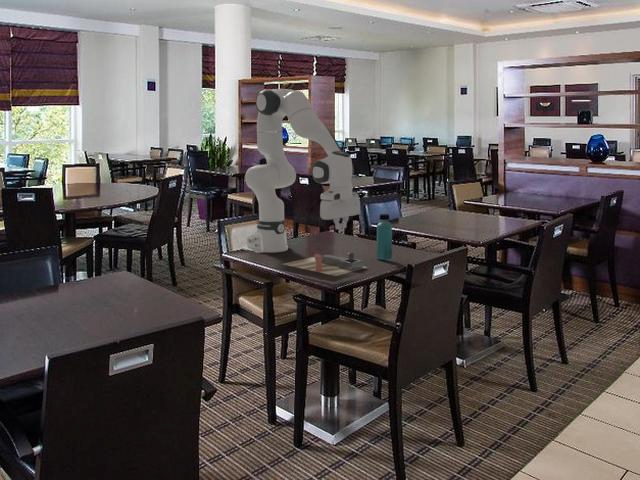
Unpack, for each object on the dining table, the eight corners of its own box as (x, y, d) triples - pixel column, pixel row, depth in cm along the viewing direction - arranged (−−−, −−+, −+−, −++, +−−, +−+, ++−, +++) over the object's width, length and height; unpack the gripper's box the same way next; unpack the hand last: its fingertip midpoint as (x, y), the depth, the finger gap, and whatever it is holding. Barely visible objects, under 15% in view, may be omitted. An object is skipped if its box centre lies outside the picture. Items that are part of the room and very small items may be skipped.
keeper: (314, 267, 258) (314, 254, 257) (320, 266, 258) (320, 254, 257) (316, 271, 251) (316, 258, 250) (322, 271, 251) (322, 258, 250)
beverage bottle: (391, 263, 267) (392, 215, 264) (375, 263, 269) (375, 215, 265) (392, 260, 274) (393, 213, 270) (377, 259, 275) (377, 212, 271)
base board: (282, 266, 263) (282, 264, 263) (314, 258, 277) (314, 256, 277) (335, 278, 244) (335, 275, 244) (367, 269, 257) (367, 267, 257)
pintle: (347, 268, 256) (347, 253, 255) (350, 267, 257) (350, 252, 256) (351, 268, 255) (351, 253, 253) (354, 267, 256) (354, 253, 255)
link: (318, 263, 263) (318, 256, 263) (329, 261, 268) (329, 253, 268) (352, 270, 251) (352, 263, 251) (363, 267, 256) (363, 260, 256)
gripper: (352, 190, 264) (352, 224, 266) (317, 195, 249) (317, 230, 252) (364, 191, 259) (363, 226, 262) (329, 196, 245) (329, 232, 247)
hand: (340, 228), depth 257 cm, fingers closed
